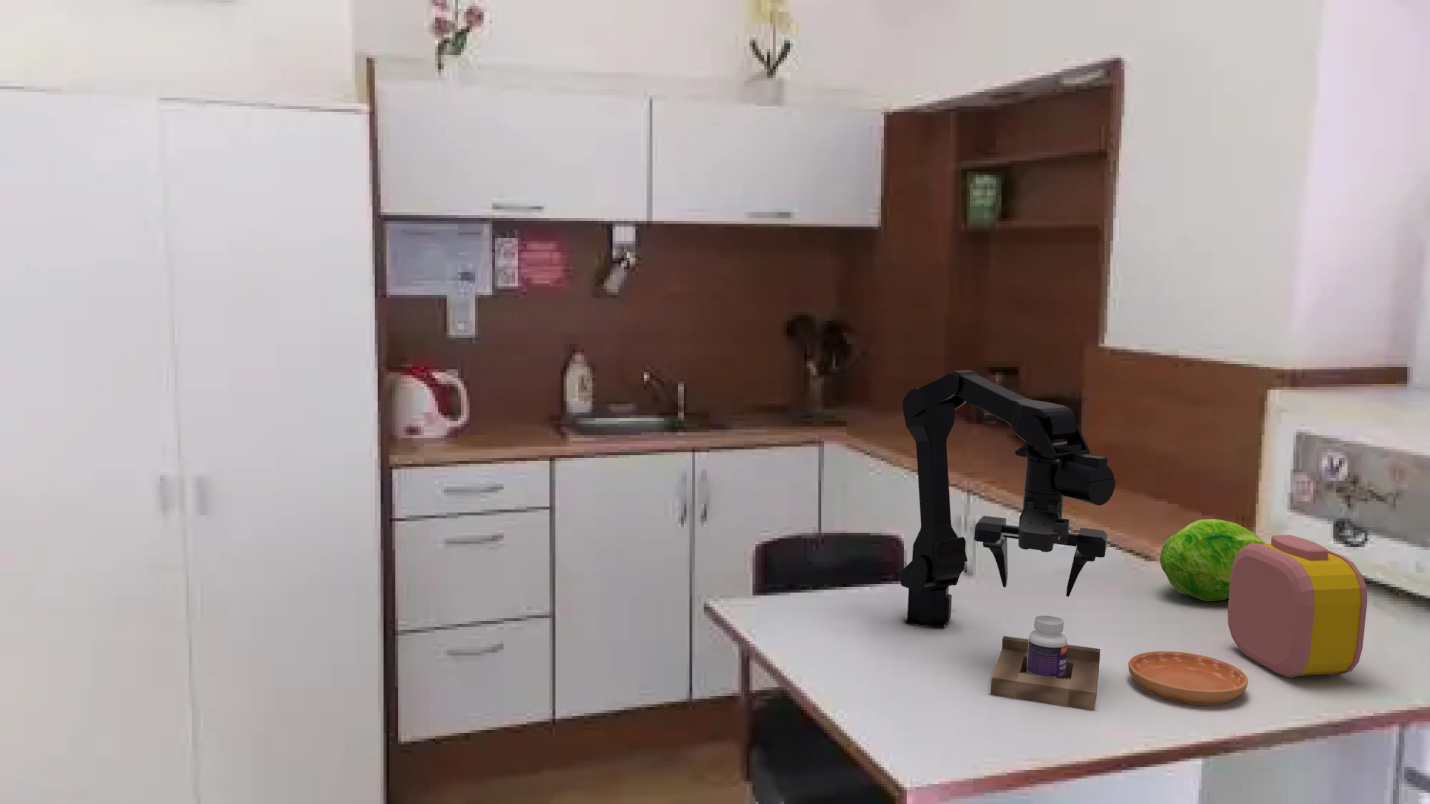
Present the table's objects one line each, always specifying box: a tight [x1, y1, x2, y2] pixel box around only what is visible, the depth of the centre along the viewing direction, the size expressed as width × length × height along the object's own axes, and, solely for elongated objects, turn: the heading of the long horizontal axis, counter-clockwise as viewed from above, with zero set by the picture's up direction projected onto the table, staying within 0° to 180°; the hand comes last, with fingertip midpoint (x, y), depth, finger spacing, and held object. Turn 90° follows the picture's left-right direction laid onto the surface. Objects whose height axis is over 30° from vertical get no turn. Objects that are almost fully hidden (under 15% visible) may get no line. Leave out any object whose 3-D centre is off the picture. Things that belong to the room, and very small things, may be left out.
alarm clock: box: [1227, 534, 1368, 679], centre depth 172 cm, size 18×11×19 cm, turn 9°
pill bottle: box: [1026, 615, 1068, 679], centre depth 163 cm, size 5×5×10 cm
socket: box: [990, 635, 1101, 711], centre depth 163 cm, size 14×14×4 cm
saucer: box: [1127, 650, 1249, 706], centre depth 163 cm, size 16×16×3 cm
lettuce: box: [1159, 518, 1266, 602], centre depth 206 cm, size 15×23×16 cm
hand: (1036, 591), depth 170 cm, fingers open, 9 cm apart
